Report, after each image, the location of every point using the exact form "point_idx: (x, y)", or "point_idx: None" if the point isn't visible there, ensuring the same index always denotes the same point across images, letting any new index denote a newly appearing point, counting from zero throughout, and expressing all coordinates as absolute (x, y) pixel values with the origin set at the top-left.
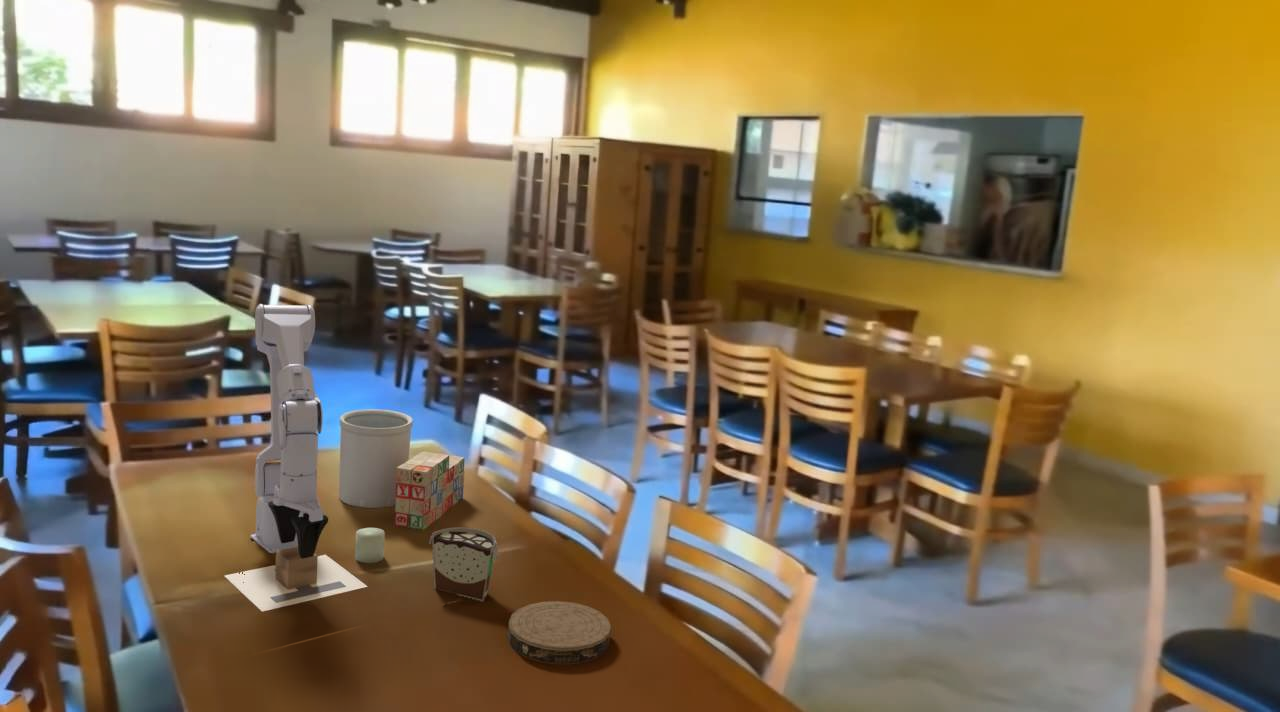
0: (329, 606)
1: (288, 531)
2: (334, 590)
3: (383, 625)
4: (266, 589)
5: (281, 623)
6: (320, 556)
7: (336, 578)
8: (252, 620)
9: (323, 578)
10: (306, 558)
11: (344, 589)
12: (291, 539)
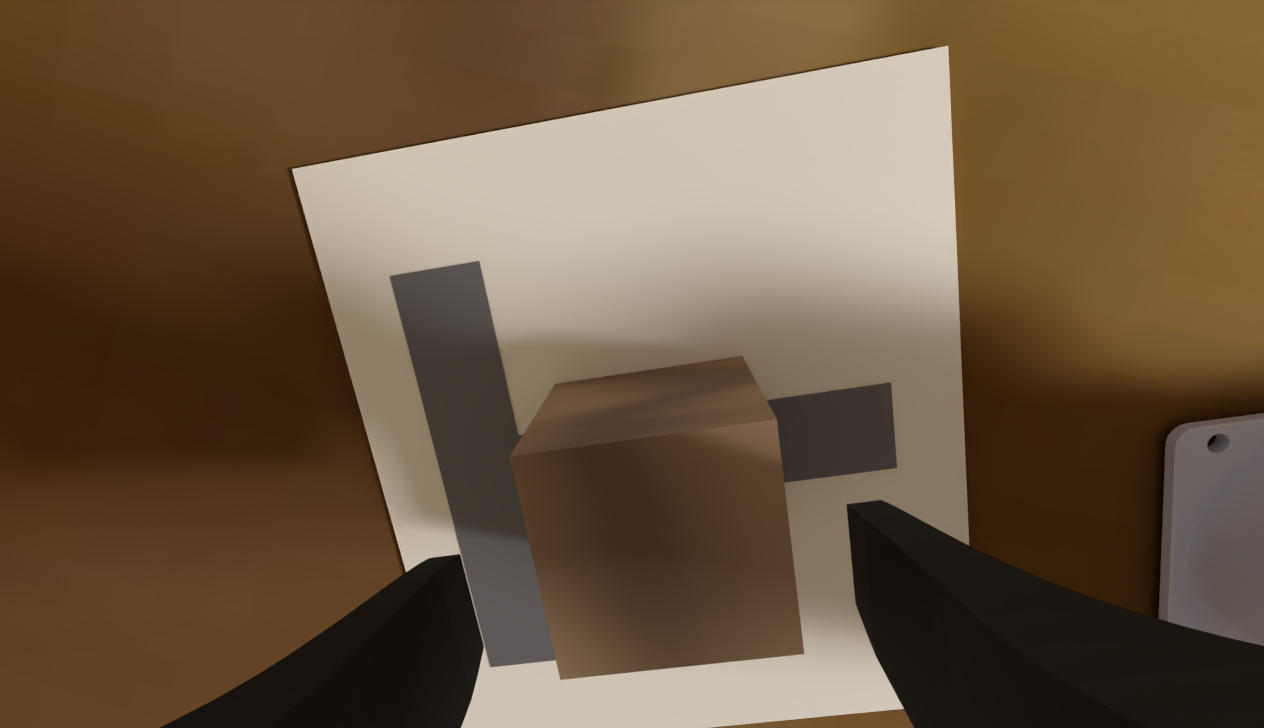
0: (290, 525)
1: (897, 627)
2: None
3: (27, 674)
4: (604, 268)
5: (136, 242)
6: None
7: None
8: (208, 92)
9: None
10: (545, 592)
11: None
12: (858, 596)
